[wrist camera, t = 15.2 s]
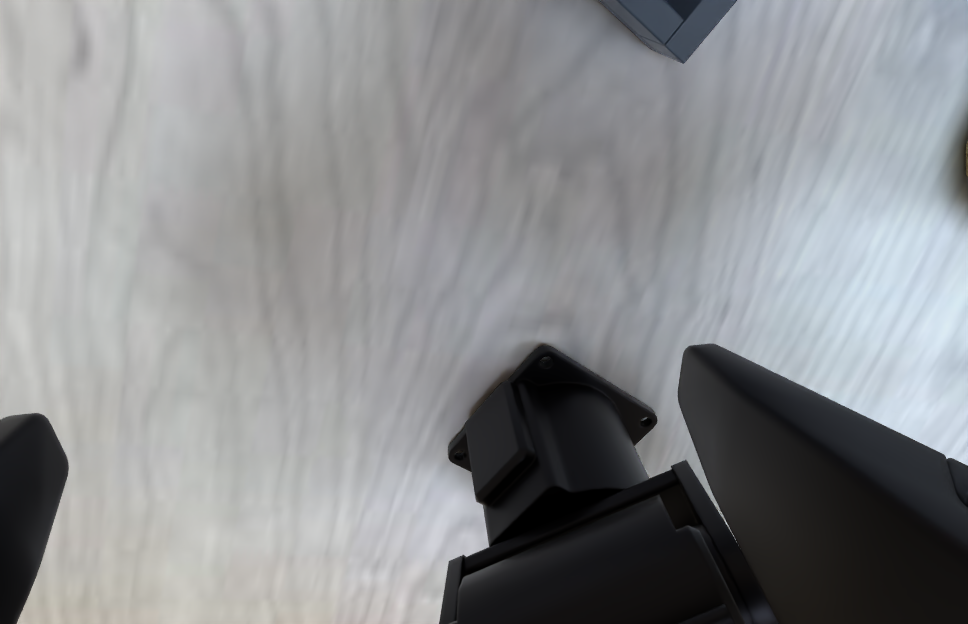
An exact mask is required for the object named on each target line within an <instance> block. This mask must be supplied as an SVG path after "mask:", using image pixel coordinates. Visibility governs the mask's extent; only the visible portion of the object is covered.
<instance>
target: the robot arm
mask: <svg viewBox="0 0 968 624" xmlns="http://www.w3.org/2000/svg"><path fill="white" fill-rule="evenodd" d="M544 357H550V359H549V360H548V361H546V362H542V361H541V359H542V358H544ZM678 401H679V405H680V408H681V411H682V414H683V417H684V419H685V422H686V425H687V427H688V430H689V433H690V435H691V438H692V441H693V443H694V446H695V449H696V451H697V454H698V457H699V459H700V462H701V465H702V467H703V470H704V473H705V476H706V478H707V481H708V483H709V486H710V488H711V491H712V493H713V495H714V497H715V499H716V501H717V504H718V506H719V508H720V510H721V512H722V514H723V516H724V518H725V519H726V521H727V523H728V525H729V527H730V529H731V531H732V533H733V535H734V537H735V538H734V537H733V535H732V533H731V532H730V530H729V528H728V527H727V525H726V523H725V522H724V520H723V518H722V517H721V515H720V514H719V512H718V510H717V509H716V507H715V506H714V504H713V502H712V501H711V499H710V498H709V496H708V494H707V493H706V491H705V490H704V488H703V486H702V485H701V483H700V481H699V480H698V478H697V477H696V475H695V473H694V472H693V470H692V469H691V467H690V465H689V464H688V462H687V461H686V460H684V461H682V462H679V463H677V464H675V465H672V466H671V468H672V469H671V470H669V471H666V472H664V473H662V474H659V475H657V476H655V477H652V478H650V479H649V477H648V475H647V473H646V471H645V468H644V466H643V464H642V462H641V460H640V458H639V456H638V454H637V451H636V449H635V447H634V446H635V445H636V444H637V443H638V442H639V441H640V440H641V439H642V438H643V437H644V436H645V435H646V434H647V433H648V432H649V431H650V430H651V429H653V428H654V426H655V425H656V424H657V416H656V415H655V413H654V411H653V410H652V409H651V408H650V407H648V406H647V405H645V404H644V403H642V402H640V401H639V400H637V399H635V398H634V397H632V396H631V395H629V394H627V393H626V392H624V391H623V390H621V389H619V388H618V387H616V386H614V385H613V384H611V383H610V382H608V381H606V380H605V379H603V378H602V377H600V376H598V375H597V374H595V373H593V372H592V371H590V370H589V369H587V368H585V367H584V366H582V365H581V364H579V363H577V362H576V361H574V360H572V359H571V358H569V357H568V356H566V355H564V354H563V353H561V352H560V351H558V350H556V349H555V348H553V347H551V346H541V347H538V348H537V349H536V350H535V351H534V352H533V353H532V354H531V355H530V356H529V357H528V358H527V359H526V360H525V362H524V363H523V364H522V365H521V366H520V367H519V368H518V369H517V370H516V372H515V373H514V374H513V375H512V376H511V377H510V378H509V379H508V380H507V381H505V382H503V383H501V384H500V385H499V386H498V387H497V388H496V390H495V391H494V392H493V393H492V394H491V395H490V396H489V397H488V398H487V400H486V401H485V402H484V403H483V404H482V405H481V406H480V407H479V408H478V410H477V411H476V412H475V413H474V414H473V415H472V416H471V417H470V418H469V419H468V421H467V422H466V423H465V428H464V429H463V430H462V431H461V432H460V433H459V435H458V436H457V437H456V438H455V439H454V440H453V441H452V442H451V443H450V445H449V446H448V457H449V460H450V461H451V462H452V463H454V464H456V465H458V466H460V467H462V468H464V469H466V470H468V471H470V472H472V478H473V485H474V492H475V498H476V501H477V502H478V503H480V504H482V505H483V509H484V515H485V522H486V528H487V534H488V541H489V548H486V549H484V550H482V551H479V552H477V553H475V554H472V555H470V556H468V557H466V556H465V555H462V556H460V557H458V558H455V559H453V560H451V561H449V564H448V571H447V577H446V583H445V590H444V596H443V603H442V609H441V615H440V622H439V624H968V466H967V465H965V464H963V463H961V462H959V461H957V460H955V459H952V458H948V459H947V460H946V457H945V455H944V454H942V453H940V452H938V451H936V450H934V449H932V448H929V447H927V446H925V445H923V444H921V443H919V442H917V441H915V440H913V439H911V438H909V437H907V436H905V435H903V434H901V433H898V432H896V431H894V430H892V429H890V428H888V427H886V426H884V425H882V424H880V423H878V422H876V421H874V420H872V419H869V418H867V417H865V416H863V415H861V414H859V413H857V412H855V411H853V410H851V409H849V408H847V407H845V406H843V405H840V404H838V403H836V402H834V401H832V400H830V399H828V398H826V397H824V396H822V395H820V394H818V393H816V392H814V391H812V390H809V389H807V388H805V387H803V386H801V385H799V384H797V383H795V382H793V381H791V380H789V379H787V378H785V377H783V376H780V375H778V374H776V373H774V372H772V371H770V370H768V369H766V368H764V367H762V366H760V365H758V364H756V363H754V362H751V361H749V360H747V359H745V358H743V357H741V356H739V355H737V354H735V353H733V352H731V351H729V350H727V349H725V348H723V347H720V346H718V345H716V344H711V343H710V344H701V345H692V346H688V347H687V348H686V349H685V351H684V353H683V358H682V365H681V372H680V379H679V387H678ZM646 417H648V418H647V419H645V420H643V421H641V419H643V418H646ZM458 451H464V452H463V453H456V452H458ZM68 469H69V466H68V460H67V456H66V454H65V452H64V450H63V448H62V446H61V444H60V442H59V440H58V438H57V436H56V434H55V432H54V430H53V428H52V426H51V424H50V422H49V420H48V419H47V418H46V417H45V416H44V415H42V414H39V413H32V414H22V415H13V416H8V417H5V418H3V419H1V420H0V624H17V621H18V619H19V617H20V614H21V612H22V610H23V607H24V605H25V603H26V600H27V598H28V596H29V593H30V591H31V588H32V586H33V583H34V581H35V578H36V576H37V573H38V570H39V567H40V564H41V561H42V558H43V555H44V552H45V548H46V545H47V542H48V538H49V535H50V532H51V529H52V525H53V522H54V519H55V516H56V512H57V509H58V506H59V503H60V499H61V496H62V493H63V489H64V486H65V483H66V480H67V476H68ZM735 539H736V540H735ZM736 541H737V542H736ZM737 543H738V544H737Z"/></svg>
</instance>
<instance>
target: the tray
mask: <svg viewBox="0 0 968 624" xmlns="http://www.w3.org/2000/svg"><path fill="white" fill-rule="evenodd" d="M599 1H600V2H601V3H602V4H603V5H604V6H605V7H606V8H607V9H608V10H609V11H610V12H612V13H613V14H614V15H615V16H616V17H617V18H618V19H619V20H620V21H621V22H622V23H623V24H624V25H625V26H627V27H628V28H629V29H630V30H631V31H632V32H633V33H634V34H635V35H636V36H637V37H638V38H639V39H640V40H642V41H643V42H644V43H645V44H646V45H647V46H648V47H649V48H650V49H652V50H654V51H656V52H658V53H660V54H662V55H665V56H667V57H669V58H672V59H674V60H676V61H678V62H681V63H685V62H686V61H687V60H688V58H689V57H690V56H691V55H692V54H693V52H694V51H695V50H696V49H697V48H698V46H699V45H700V44H701V43H702V42H703V40H704V39H705V38H706V37H707V36H708V34H709V33H710V32H711V31H712V30H713V28H714V27H715V26H716V25H717V24H718V23H719V21H720V20H721V19H722V18H723V17H724V15H725V14H726V13H727V12H728V11H729V9H730V8H731V7H732V6H733V5H734V3H735V2H736V1H737V0H599Z"/></svg>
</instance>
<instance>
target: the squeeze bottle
mask: <svg viewBox="0 0 968 624" xmlns="http://www.w3.org/2000/svg"><path fill="white" fill-rule="evenodd" d="M966 176H967V177H968V142H967V144H966Z"/></svg>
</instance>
